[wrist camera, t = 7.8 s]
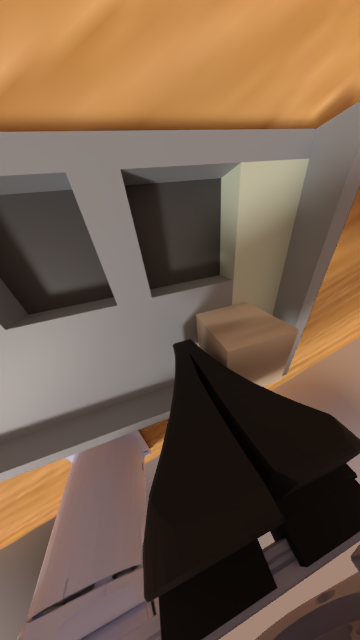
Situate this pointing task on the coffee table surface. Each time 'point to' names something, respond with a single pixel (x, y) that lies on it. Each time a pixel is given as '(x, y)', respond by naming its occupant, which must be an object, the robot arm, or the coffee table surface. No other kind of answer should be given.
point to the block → (247, 341)
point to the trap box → (149, 263)
